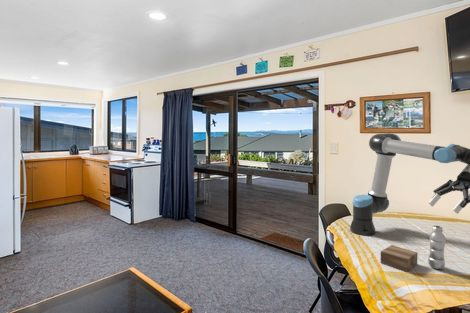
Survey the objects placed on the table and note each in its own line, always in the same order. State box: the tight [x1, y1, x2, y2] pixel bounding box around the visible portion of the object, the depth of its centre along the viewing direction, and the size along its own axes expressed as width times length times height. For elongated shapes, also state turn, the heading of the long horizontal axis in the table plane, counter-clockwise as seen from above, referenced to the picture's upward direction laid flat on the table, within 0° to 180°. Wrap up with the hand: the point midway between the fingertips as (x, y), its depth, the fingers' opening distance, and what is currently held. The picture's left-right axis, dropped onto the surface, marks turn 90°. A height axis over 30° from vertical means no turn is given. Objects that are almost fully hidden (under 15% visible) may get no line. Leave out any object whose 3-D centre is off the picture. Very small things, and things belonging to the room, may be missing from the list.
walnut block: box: [380, 244, 419, 273], centre depth 135 cm, size 12×12×6 cm
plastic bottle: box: [427, 225, 447, 270], centre depth 129 cm, size 6×7×20 cm
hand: (442, 208), depth 133 cm, fingers open, 13 cm apart
